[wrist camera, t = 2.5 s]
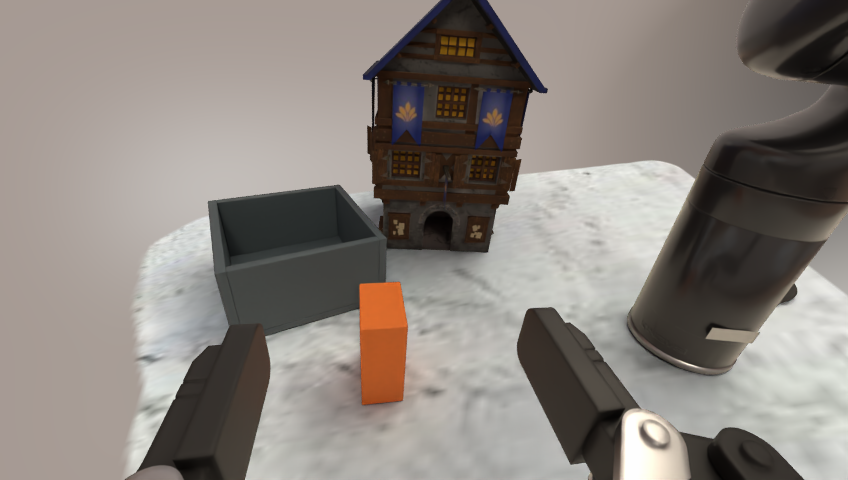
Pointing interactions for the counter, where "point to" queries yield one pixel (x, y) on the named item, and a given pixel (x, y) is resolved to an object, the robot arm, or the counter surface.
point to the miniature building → (448, 128)
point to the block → (382, 342)
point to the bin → (293, 256)
